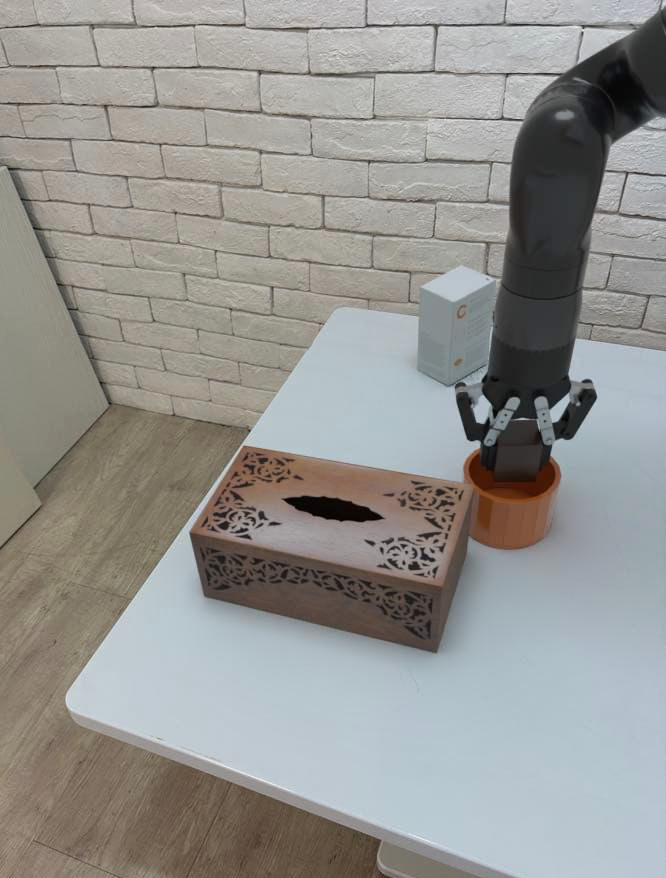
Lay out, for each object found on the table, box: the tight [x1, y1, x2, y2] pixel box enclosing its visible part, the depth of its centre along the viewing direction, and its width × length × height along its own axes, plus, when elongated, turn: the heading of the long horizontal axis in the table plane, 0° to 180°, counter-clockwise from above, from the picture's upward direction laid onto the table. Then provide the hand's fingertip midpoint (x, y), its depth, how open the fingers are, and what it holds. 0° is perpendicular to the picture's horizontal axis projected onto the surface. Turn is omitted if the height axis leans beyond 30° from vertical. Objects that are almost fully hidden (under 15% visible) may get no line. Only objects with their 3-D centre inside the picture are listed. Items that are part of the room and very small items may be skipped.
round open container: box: [461, 447, 563, 550], centre depth 89 cm, size 10×10×7 cm
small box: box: [416, 264, 497, 387], centre depth 109 cm, size 8×6×13 cm
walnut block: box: [492, 419, 543, 483], centre depth 85 cm, size 4×4×5 cm
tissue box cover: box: [188, 444, 475, 654], centre depth 85 cm, size 26×14×10 cm, turn 68°
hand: (512, 465), depth 86 cm, fingers closed on walnut block, 4 cm apart
